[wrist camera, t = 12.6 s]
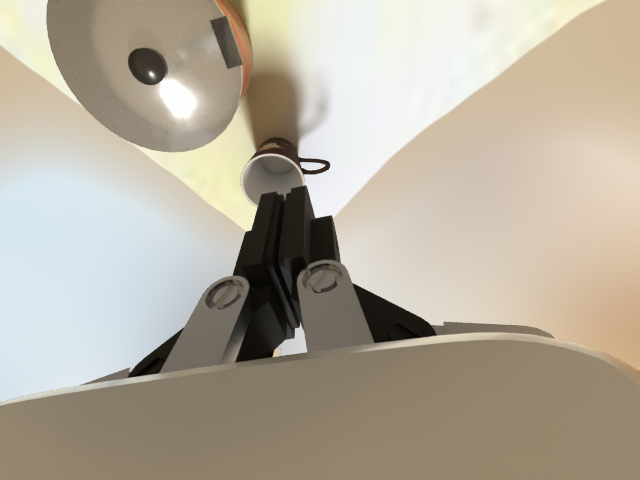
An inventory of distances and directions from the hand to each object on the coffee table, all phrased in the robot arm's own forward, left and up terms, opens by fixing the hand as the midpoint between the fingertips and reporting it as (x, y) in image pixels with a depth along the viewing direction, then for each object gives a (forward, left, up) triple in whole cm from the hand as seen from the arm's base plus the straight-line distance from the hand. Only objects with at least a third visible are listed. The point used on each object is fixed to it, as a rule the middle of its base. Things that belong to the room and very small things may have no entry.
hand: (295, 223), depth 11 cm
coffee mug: (+5, +11, -38) cm, 40 cm away
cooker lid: (+13, -6, -26) cm, 30 cm away
